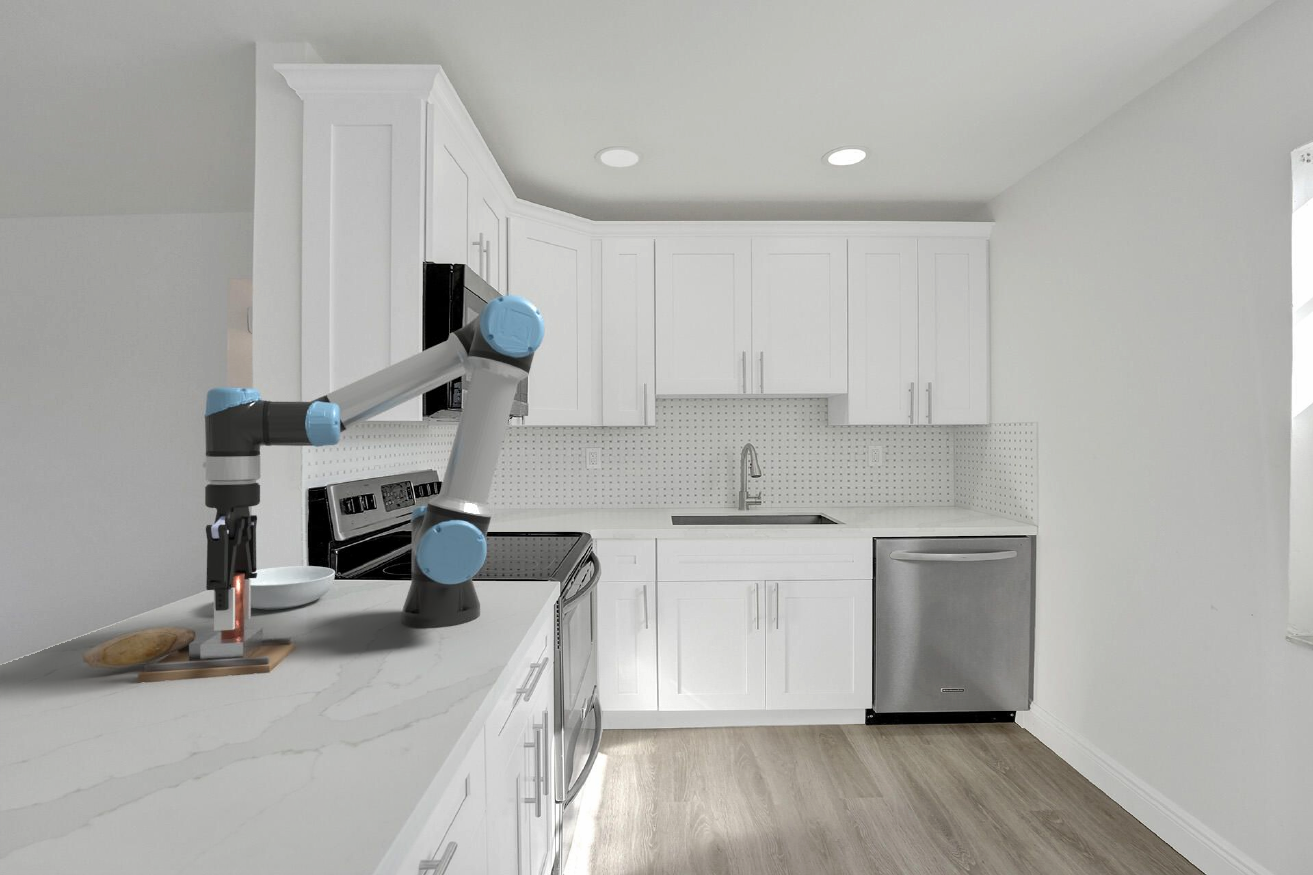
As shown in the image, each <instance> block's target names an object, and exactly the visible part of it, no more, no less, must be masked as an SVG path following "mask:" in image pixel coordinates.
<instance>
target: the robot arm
mask: <svg viewBox="0 0 1313 875" xmlns="http://www.w3.org/2000/svg"><path fill="white" fill-rule="evenodd" d="M543 318H544V317H543V316H542V315H541V313H540V311H539V309H538V308H537V307H536V305H534V304H533V303H532V302H531V301H529V300H528V299H526V298H524V297H523V296H522V297H521V296H518V295H512V294H511V295H507V294H506V295H502V296H499V297H495V298H494V299H491V301H489V302H488V303H486V305H484V307H483V309H482V310H481V312H480V313H479V314H478V315H477V316H476V317H475V318H474V319H473V320H471V321H470V322H469V323H468V324H466V325H465V326H463V327H461V328H459V329H457V330H454V331H453V332H451V333H449V335H448V338H447V340H446V341H442V342H441V343H439V344H436V345H433V346H432V347H429V348H427V349H425V350H423V351H421V352H418V353H416V354H413V355H412V356H410V357H408V358H405V359H402V360H400V361H398V362H396V363H394V364H392V365H389V366H388V367H385V368H383V369H381V370H378V371H376V372H373V373H372V374H370V375H366V376H365V377H363V378H361V379H358V380H356V381H354V382H352V383H349V384H348V385H347V384H346V385H345V386H343V387H340V388H337V389H336V390H333V391H332V392H329V393H327V394H326V395H323V396H319V397H318V398H315V399H313V400H311V401H271V400H265V399H264V400H263V399H262V397H261V392H260V390H258V389H256V388H248V387H227V386H223V387H219V386H218V387H213V388H211V389H209V390H208V391H207V393H206V403H205V404H206V405H205V414H204V422H205V424H204V426H205V427H204V430H205V431H204V432H205V436H204V437H205V461H204V462H203V464H202V467H203V468H204V469H205V480H206V481H207V482H209V484H208V483H207V484H206V486H205V487H204V488H205V490H204V491H205V492H204V495H205V496H204V497H205V499H204V501H205V502H204V504H205V507H207V508H209V509H216V514H215V519H214V524H206V526H205V534H206V539H207V540H206V541H207V543H206V549H207V550H206V551H207V552H206V587H205V588H206V591H213V632H219V631H221V630H233V629H235V588H232V582H233V574H234V573H244V574H245V593H244V620H249V619H252V618H251V613H252V610H251V609H252V608H251V579H249V578H256V577H257V573H252V572H256V570H258V569H257V568H258V567H257V523H258V516H257V515H256V514H252V515H251V514H250V508H251V507H255V506H256V507H257V506H258V505H259V504H260V503H261V484H260V483H259V482H257V481H258V480H259V479H261V451H260V450H261V446H267V447H268V446H269V447H272V446H275V447H276V446H282V447H283V446H284V447H285V446H286V447H287V446H288V447H290V446H291V447H303V446H304V447H317V448H318V447H325V446H326V447H327V446H335V445H337V444H338V443H339V442H340V439H341V438H340V437H341V433H343V432H345V431H346V430H348V429H351V428H353V427H355V426H357V425H359V424H361V423H364V422H366V421H367V420H370V419H372V418H374V417H376V416H378V415H380V414H382V413H385V412H387V411H390V410H391V409H394V408H395V407H397V406H400V405H401V404H403V403H406V402H408V401H410V400H411V401H412V399H414V398H418V397H419V396H420V395H423V394H425V393H427V392H430V391H432V390H435V389H436V388H438V387H440V386H443V385H444V384H447V383H449V382H451V381H453V380H456V379H458V378H459V377H461V376H464V375H469V376H471V377H470V380H469V384H468V388H467V390H466V395H465V399H464V402H463V406H462V410H461V413H460V418H459V421H458V425H457V427H456V431H455V436H454V439H453V443H452V446H451V451H450V455H449V456H448V460H447V466H446V469H445V472H444V476H443V480H442V483H441V487H440V491H439V494H437V495H436V496H434V497H432V498H431V499H430V500H428V502H427V505H426V506H425V505H422V506H417V507H414V509H412V513H411V518H410V524H411V581H410V585H409V589H408V592H407V595H406V597H405V601H404V604H403V607H402V611H401V621H402V622H401V623H403V625H405V626H408V627H411V628H412V627H413V628H418V629H440V628H448V627H455V626H460V625H463V624H467V623H470V622H473V621H475V620H477V619H478V618H479V617H480V616H481V603H480V600H479V596H478V594H477V591H476V588H475V585H474V581H473V579H472V578H473V577H474V576H475V575H477V573H478V572H479V571H480V570H481V568H482V567H483V565H484V563H485V562H486V561H485V560H486V557H487V549H488V547H487V535H488V530H489V528H490V523H491V519H492V516H493V515H492V513H491V511H490V510H489V508H488V506H487V502H488V497H489V496H490V495H489V494H490V490H491V488H492V483H493V479H494V475H495V472H496V469H497V468H496V467H497V464H498V461H499V457H500V454H501V449H502V445H503V441H504V438H505V433H506V430H507V427H508V423H509V418H510V414H511V411H512V408H513V405H514V400H515V399H514V398H515V396H516V392H517V388H518V385H519V383H520V382H521V381H523V380H524V379H526V378H528V377H529V375H530V370H531V368H532V364H533V359H534V356H535V352H536V351H537V350H538V349H539V348H540V346H541V344H542V342H543V340H544V336H545V321H544V319H543ZM249 507H250V508H249Z"/></svg>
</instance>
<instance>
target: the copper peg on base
mask: <svg viewBox="0 0 1313 875" xmlns="http://www.w3.org/2000/svg"><path fill="white" fill-rule="evenodd" d="M232 588H235V629H233V630H220V631H209V632H208V631H207V632H205V633H203V634H201V636H200V637H198V638H195V640H194V641H193V642H191V643H190V644H189V661H202V660H218V659H234V658H248V657H249V656H250V655H251V654H253V653H254V652H255V651H256V650H258V649H259V648H260V647H261V646H262V639H263V627H256V628H245V619H244V593H245V574H244V573H234V574H233V582H232Z"/></svg>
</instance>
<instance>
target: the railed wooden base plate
mask: <svg viewBox="0 0 1313 875" xmlns="http://www.w3.org/2000/svg"><path fill="white" fill-rule="evenodd" d="M291 640H292V639H291V637H278V638H277V637H276V638H275V637H274V638H262V646H261V647H260V648H259V649H258V650H256V651H255V652H254V653H253V654H251V655H250V656H249V657H248V658H234V659H218V660H202V661H189V645H187V646H186V647H184V648H182V649H180V650H177V651H175V652H172V653H170V654H168V655H166V656H164V657H162V659H160V660H158V661H157V662H155V663H145V665H144V670H142V671H141V672H139V673H137V679H138V680H137V683H138V684H143V683H142V682H145V683H154V682H166V681H165V680H170V681H179V680H182V681H183V680H192V679H193V680H194V679H205V678H206V679H207V678H216V677H229V676H228V675H232V676H240V675H241V676H242V675H243V676H244V675H253V674H254V673H257V674H265V673H266V674H269V673H271V672H272V671H273V670H274V669H275V668H276V667H277V666H278V665H279V664H280V663H281V662H282V661H284V660H285V658H287V657H288V656H289V655H290V654H292V652H293V651H294V650H295V649H296V641H291ZM270 671H271V672H270ZM254 675H255V674H254Z"/></svg>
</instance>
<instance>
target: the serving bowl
mask: <svg viewBox="0 0 1313 875" xmlns="http://www.w3.org/2000/svg"><path fill="white" fill-rule="evenodd" d="M252 573H257V577H256V578H249V579H251V609H252V608H253V609H260V610H266V611H272V610H273V611H274V610H284V609H285V610H286V609H289V608H290V609H291V608H295V607H300V606H302V605H307V604H309V603H312V602H314V601H316V600H318V599H320V598H322V597H323V596H324V595H325V594H327V593H328V592H329V591H330V589H331V588H332V586H333V584H334V581H335V577H336V576H335V575H336V571H335V569H333V568H329V567H325V566H324V567H323V566H313V565H300V566H298V565H297V566H296V565H295V566H293V565H292V566H291V565H290V566H279V567H269V568H261V569H256V572H252Z"/></svg>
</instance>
